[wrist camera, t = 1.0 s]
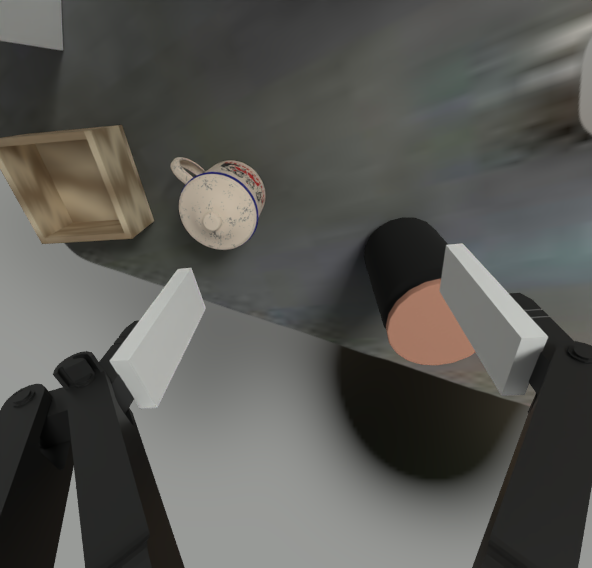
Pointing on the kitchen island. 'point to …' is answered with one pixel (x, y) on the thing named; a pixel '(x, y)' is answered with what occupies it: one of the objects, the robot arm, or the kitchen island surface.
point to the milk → (32, 23)
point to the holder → (76, 184)
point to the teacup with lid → (219, 202)
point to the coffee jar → (414, 292)
